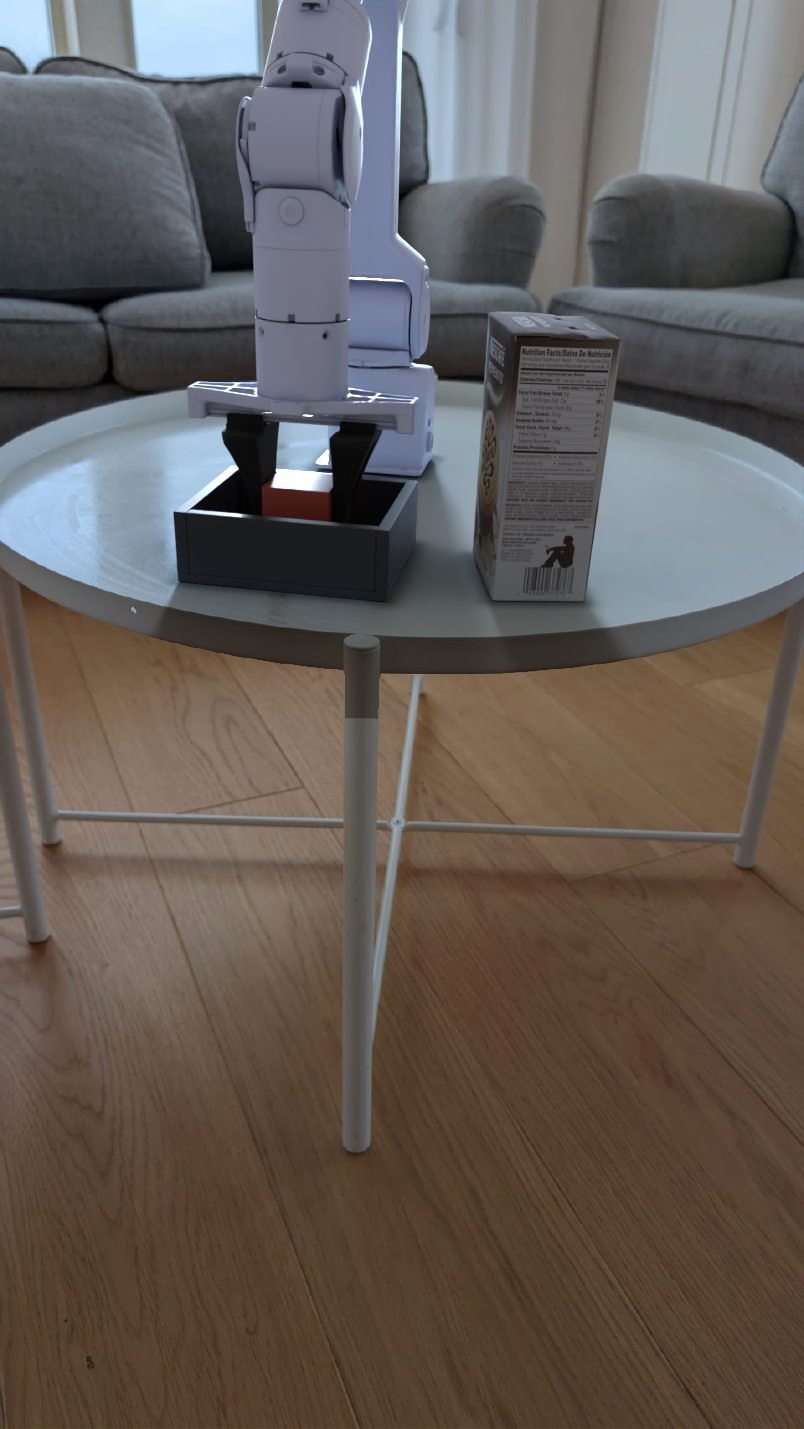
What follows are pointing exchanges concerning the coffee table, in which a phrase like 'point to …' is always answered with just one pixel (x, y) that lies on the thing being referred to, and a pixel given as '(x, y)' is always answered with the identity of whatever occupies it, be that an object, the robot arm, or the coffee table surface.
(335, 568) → the open box
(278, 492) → the block
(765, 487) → the coffee table surface
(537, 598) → the grey cardboard tall box
